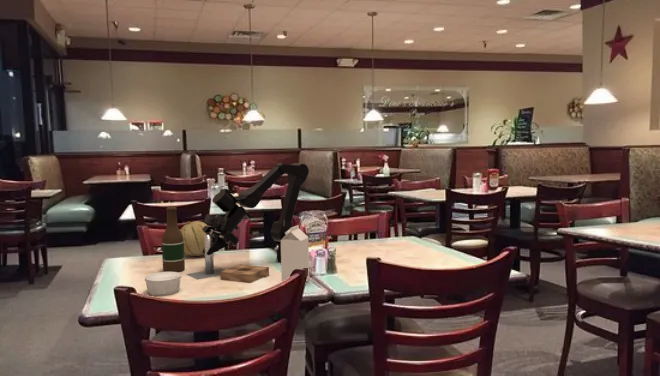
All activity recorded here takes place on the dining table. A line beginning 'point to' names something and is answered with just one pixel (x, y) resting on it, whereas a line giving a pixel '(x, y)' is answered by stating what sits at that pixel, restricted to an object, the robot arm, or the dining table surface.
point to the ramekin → (163, 283)
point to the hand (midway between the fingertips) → (205, 253)
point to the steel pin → (208, 258)
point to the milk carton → (294, 252)
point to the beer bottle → (172, 244)
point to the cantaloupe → (193, 238)
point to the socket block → (245, 273)
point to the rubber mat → (202, 274)
